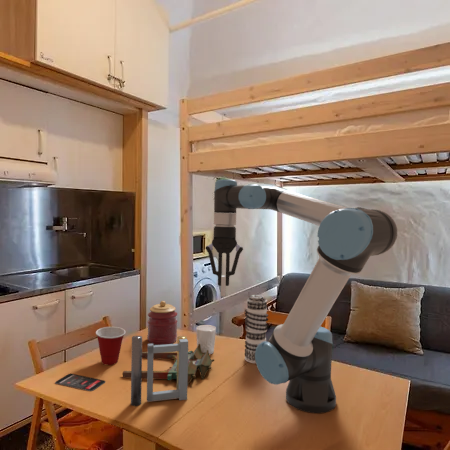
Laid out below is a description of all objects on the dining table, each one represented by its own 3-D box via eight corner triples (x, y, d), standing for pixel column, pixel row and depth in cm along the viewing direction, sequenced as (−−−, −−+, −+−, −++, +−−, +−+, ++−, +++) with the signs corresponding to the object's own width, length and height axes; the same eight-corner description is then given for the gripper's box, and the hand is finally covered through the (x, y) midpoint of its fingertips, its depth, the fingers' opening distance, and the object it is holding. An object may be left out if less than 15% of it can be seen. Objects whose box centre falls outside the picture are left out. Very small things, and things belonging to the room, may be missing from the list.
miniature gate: (143, 344, 151) (217, 343, 147) (144, 357, 151) (217, 357, 148) (117, 372, 124) (206, 372, 121) (118, 389, 124) (207, 389, 121)
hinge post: (142, 401, 112) (143, 335, 112) (139, 406, 109) (140, 339, 109) (132, 400, 112) (133, 335, 112) (129, 406, 109) (130, 338, 109)
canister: (167, 333, 174) (167, 296, 173) (182, 341, 164) (183, 301, 163) (142, 339, 166) (142, 299, 165) (156, 347, 156) (157, 306, 155)
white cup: (194, 349, 155) (194, 325, 155) (212, 347, 158) (212, 324, 157) (198, 356, 148) (199, 331, 147) (217, 354, 150) (218, 330, 150)
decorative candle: (238, 357, 148) (240, 295, 147) (257, 352, 153) (259, 292, 152) (253, 365, 140) (254, 300, 139) (271, 360, 145) (273, 297, 144)
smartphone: (91, 390, 117) (54, 382, 122) (91, 392, 117) (54, 384, 122) (106, 380, 124) (70, 373, 129) (106, 382, 124) (70, 375, 129)
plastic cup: (111, 370, 133) (111, 337, 132) (88, 364, 138) (89, 332, 137) (131, 360, 143) (131, 329, 142) (109, 354, 147) (110, 324, 147)
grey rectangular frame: (147, 404, 111) (148, 344, 110) (146, 400, 113) (147, 341, 112) (187, 399, 114) (188, 341, 113) (185, 395, 116) (186, 338, 116)
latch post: (186, 391, 119) (187, 336, 118) (185, 396, 116) (186, 339, 115) (177, 391, 119) (178, 335, 118) (175, 395, 116) (176, 339, 115)
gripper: (243, 225, 129) (241, 293, 130) (206, 225, 129) (204, 292, 130) (244, 226, 122) (242, 298, 123) (204, 225, 122) (203, 297, 123)
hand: (223, 295), depth 126 cm, fingers closed
